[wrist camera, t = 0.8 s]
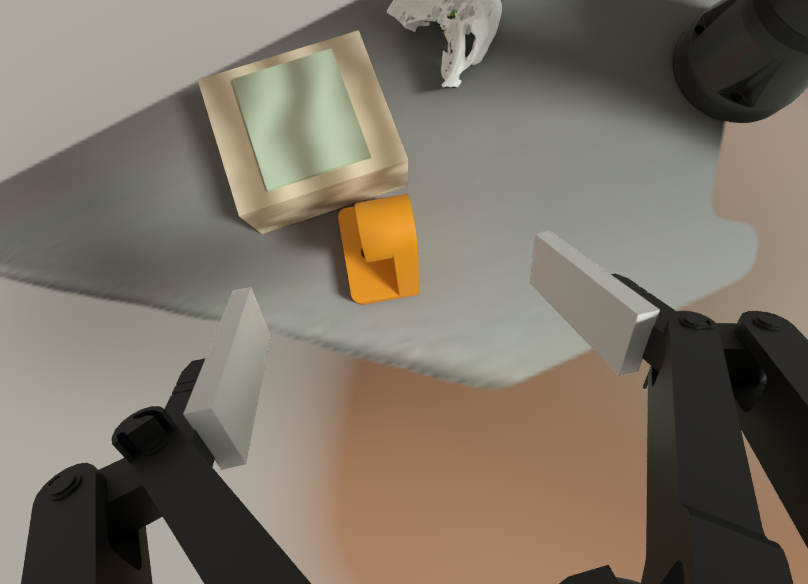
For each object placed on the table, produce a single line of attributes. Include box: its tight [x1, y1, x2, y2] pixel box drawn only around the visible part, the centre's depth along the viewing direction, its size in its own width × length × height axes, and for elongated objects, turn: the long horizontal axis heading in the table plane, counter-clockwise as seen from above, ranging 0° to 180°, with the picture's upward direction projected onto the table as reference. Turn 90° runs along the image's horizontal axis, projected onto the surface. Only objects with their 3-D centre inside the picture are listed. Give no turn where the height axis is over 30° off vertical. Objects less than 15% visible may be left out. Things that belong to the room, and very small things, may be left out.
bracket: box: [338, 194, 420, 305], centre depth 36 cm, size 11×7×12 cm, turn 11°
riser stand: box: [198, 30, 408, 234], centre depth 40 cm, size 18×16×6 cm
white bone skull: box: [387, 0, 502, 87], centre depth 42 cm, size 12×9×10 cm
